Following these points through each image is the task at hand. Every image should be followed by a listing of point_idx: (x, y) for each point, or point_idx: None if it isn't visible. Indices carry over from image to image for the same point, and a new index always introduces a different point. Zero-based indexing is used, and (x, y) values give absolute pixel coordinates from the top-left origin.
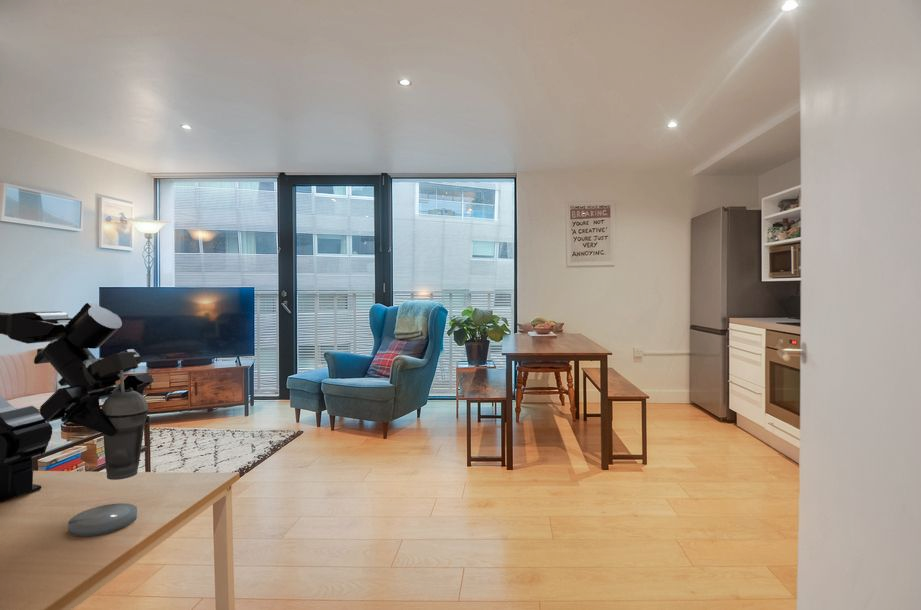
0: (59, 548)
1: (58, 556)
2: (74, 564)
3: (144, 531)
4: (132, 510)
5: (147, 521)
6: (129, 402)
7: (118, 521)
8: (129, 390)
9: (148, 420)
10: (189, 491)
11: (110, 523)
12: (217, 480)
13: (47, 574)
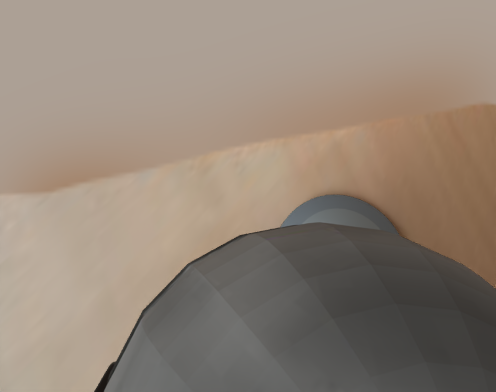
0: (435, 237)
1: (449, 209)
2: (446, 158)
3: (323, 147)
4: (297, 220)
5: (291, 178)
6: (441, 259)
7: (345, 199)
8: None
9: (113, 363)
10: (123, 223)
11: (358, 207)
12: (27, 211)
13: (481, 169)
